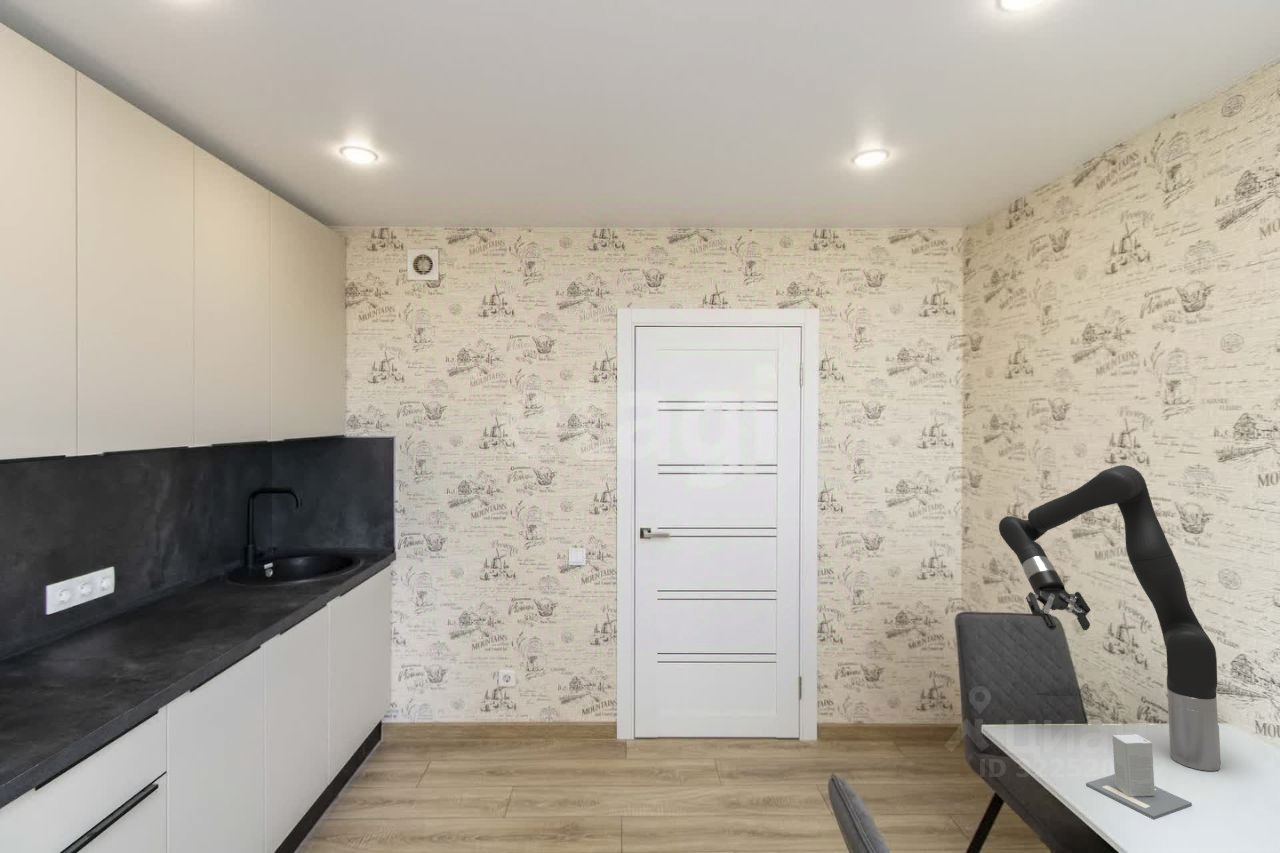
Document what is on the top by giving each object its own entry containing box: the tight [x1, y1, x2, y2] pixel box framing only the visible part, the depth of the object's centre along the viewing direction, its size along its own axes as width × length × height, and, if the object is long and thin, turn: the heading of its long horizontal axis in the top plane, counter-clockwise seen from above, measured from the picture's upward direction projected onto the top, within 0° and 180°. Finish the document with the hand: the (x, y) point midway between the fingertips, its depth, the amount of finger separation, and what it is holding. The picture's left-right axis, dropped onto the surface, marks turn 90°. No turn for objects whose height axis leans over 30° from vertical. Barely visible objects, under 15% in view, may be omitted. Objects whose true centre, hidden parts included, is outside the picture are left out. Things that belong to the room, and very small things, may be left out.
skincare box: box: [1112, 733, 1155, 797], centre depth 140 cm, size 6×4×12 cm
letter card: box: [1085, 773, 1193, 820], centre depth 139 cm, size 13×14×1 cm
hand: (1070, 628), depth 163 cm, fingers open, 8 cm apart
